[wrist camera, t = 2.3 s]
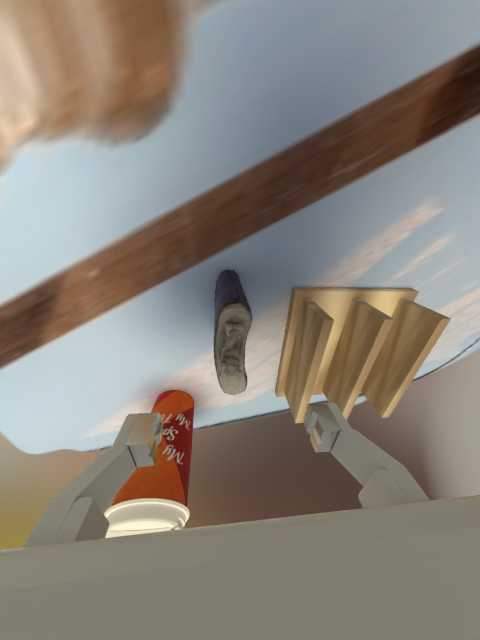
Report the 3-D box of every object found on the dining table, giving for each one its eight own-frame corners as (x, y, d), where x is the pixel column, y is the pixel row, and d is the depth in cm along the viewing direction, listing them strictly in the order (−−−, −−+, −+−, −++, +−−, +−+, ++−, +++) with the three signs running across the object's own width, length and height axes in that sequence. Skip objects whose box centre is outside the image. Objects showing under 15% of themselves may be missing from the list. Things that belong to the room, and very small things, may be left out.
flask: (239, 340, 25) (249, 414, 15) (216, 340, 25) (213, 417, 15) (241, 268, 20) (257, 311, 11) (213, 268, 20) (206, 312, 11)
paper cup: (195, 381, 28) (175, 513, 15) (205, 414, 31) (195, 542, 19) (140, 389, 27) (76, 529, 15) (157, 422, 31) (116, 556, 19)
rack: (275, 391, 30) (286, 428, 25) (293, 288, 22) (315, 310, 17) (363, 387, 32) (392, 421, 26) (411, 288, 23) (466, 309, 18)
